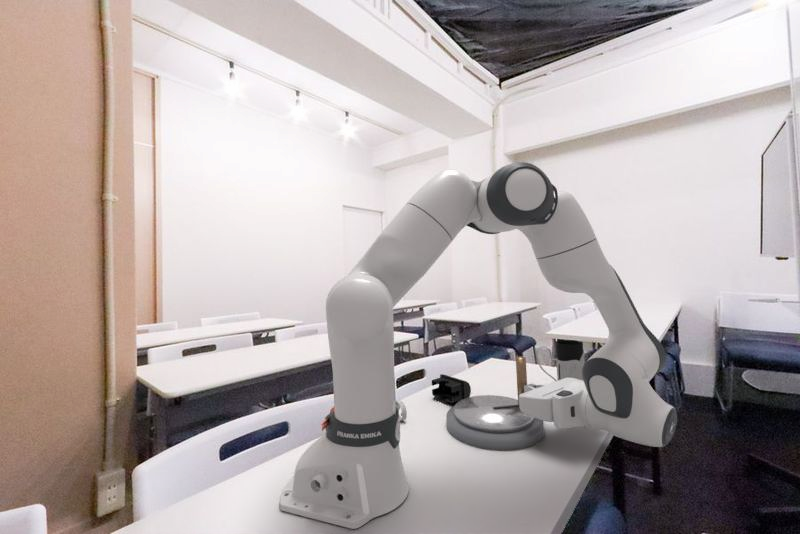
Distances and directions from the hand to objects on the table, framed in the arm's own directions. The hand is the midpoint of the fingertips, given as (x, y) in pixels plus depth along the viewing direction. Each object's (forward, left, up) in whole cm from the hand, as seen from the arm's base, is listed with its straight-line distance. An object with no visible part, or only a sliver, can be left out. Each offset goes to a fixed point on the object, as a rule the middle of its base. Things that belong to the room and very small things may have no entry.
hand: (527, 387), depth 85 cm
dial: (-9, -2, -6) cm, 11 cm away
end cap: (-20, +15, -9) cm, 26 cm away
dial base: (-9, -2, -9) cm, 13 cm away
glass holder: (+14, +25, -9) cm, 30 cm away
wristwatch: (-33, 0, -9) cm, 34 cm away
